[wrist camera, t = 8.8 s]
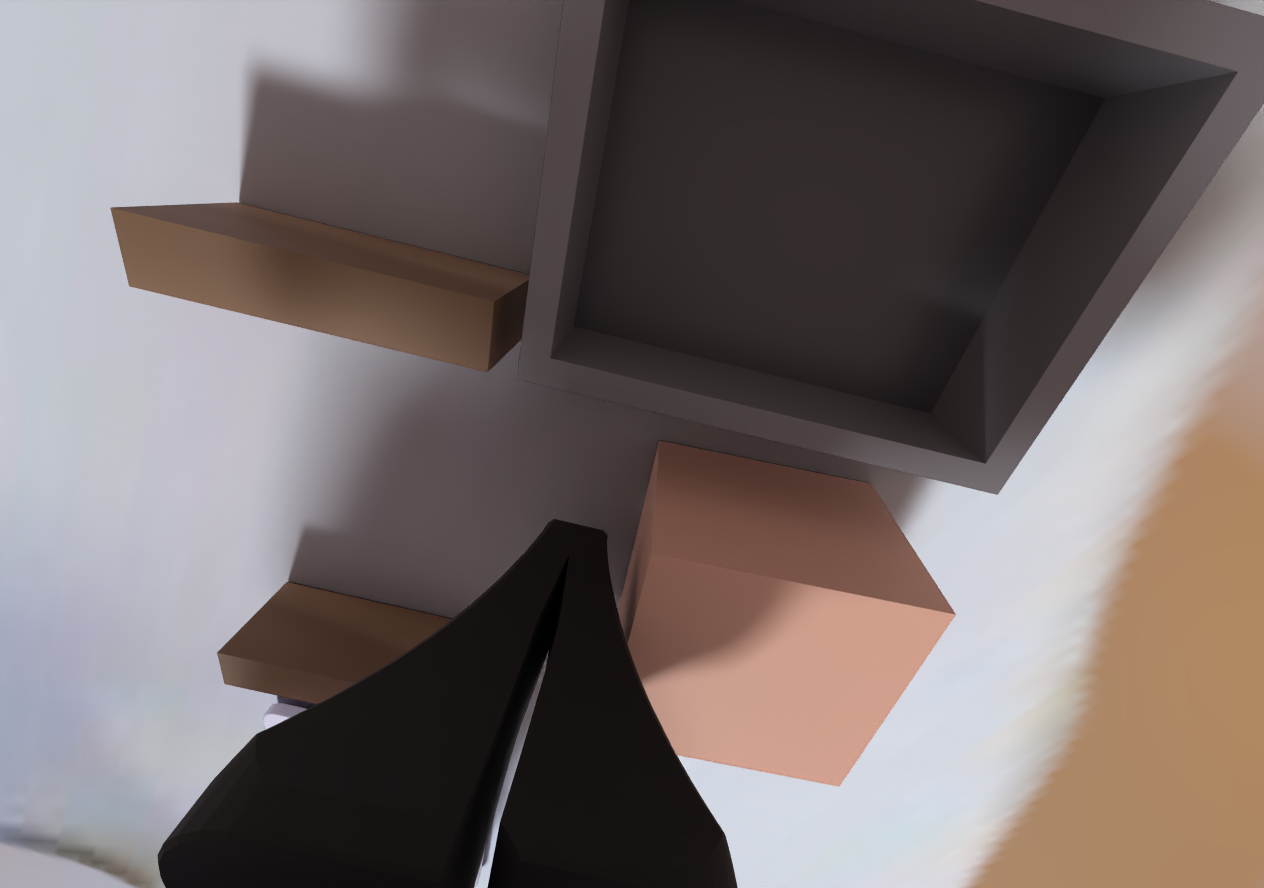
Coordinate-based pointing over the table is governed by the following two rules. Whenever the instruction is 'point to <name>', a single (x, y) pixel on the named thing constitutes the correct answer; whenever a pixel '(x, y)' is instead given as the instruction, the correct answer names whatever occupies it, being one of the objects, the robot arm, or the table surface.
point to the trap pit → (869, 209)
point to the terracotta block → (773, 612)
